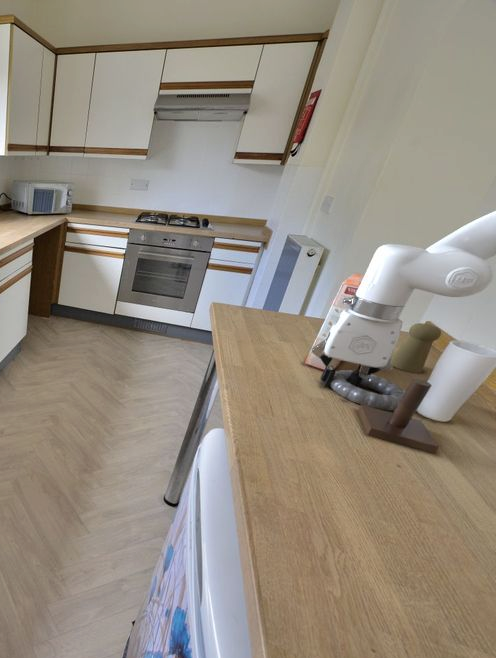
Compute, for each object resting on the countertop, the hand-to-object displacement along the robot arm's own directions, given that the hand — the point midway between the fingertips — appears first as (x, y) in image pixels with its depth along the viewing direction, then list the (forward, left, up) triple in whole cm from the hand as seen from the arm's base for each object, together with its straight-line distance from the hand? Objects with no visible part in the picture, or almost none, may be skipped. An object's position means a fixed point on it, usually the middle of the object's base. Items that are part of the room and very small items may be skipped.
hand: (336, 386), depth 89 cm
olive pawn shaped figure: (-17, -24, -1) cm, 29 cm away
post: (-7, +13, 0) cm, 15 cm away
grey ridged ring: (-5, 0, +1) cm, 5 cm away
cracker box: (0, -15, -1) cm, 15 cm away
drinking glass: (-15, +1, -1) cm, 15 cm away
